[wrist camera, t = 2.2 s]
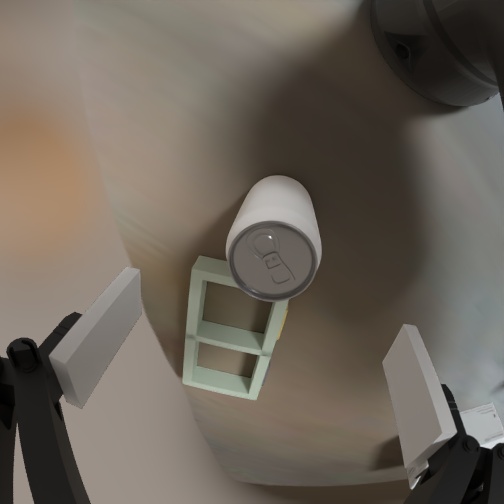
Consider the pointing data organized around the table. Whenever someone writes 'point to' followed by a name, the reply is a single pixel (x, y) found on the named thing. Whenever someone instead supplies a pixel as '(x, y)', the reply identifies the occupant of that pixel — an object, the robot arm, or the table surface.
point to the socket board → (226, 336)
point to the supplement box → (473, 433)
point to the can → (274, 241)
